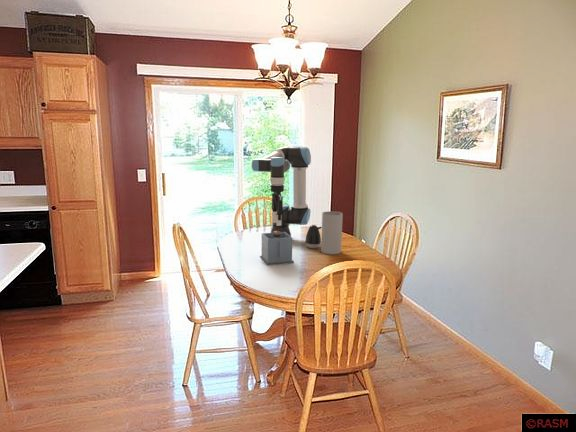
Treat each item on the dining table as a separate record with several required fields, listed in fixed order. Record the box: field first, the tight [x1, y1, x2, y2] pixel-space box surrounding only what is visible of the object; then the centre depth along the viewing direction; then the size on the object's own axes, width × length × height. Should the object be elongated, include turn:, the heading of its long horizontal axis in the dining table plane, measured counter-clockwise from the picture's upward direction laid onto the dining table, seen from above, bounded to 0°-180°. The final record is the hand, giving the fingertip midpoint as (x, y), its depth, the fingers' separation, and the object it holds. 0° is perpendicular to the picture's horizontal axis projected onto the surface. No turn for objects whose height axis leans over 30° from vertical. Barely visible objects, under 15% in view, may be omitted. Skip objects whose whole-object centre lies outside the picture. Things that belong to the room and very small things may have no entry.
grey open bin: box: [259, 232, 294, 266], centre depth 240 cm, size 18×16×15 cm
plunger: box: [273, 231, 280, 238], centre depth 240 cm, size 12×12×13 cm
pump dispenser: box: [305, 224, 322, 249], centre depth 268 cm, size 10×10×15 cm
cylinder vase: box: [320, 210, 343, 256], centre depth 257 cm, size 12×12×25 cm
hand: (277, 224), depth 238 cm, fingers open, 7 cm apart
